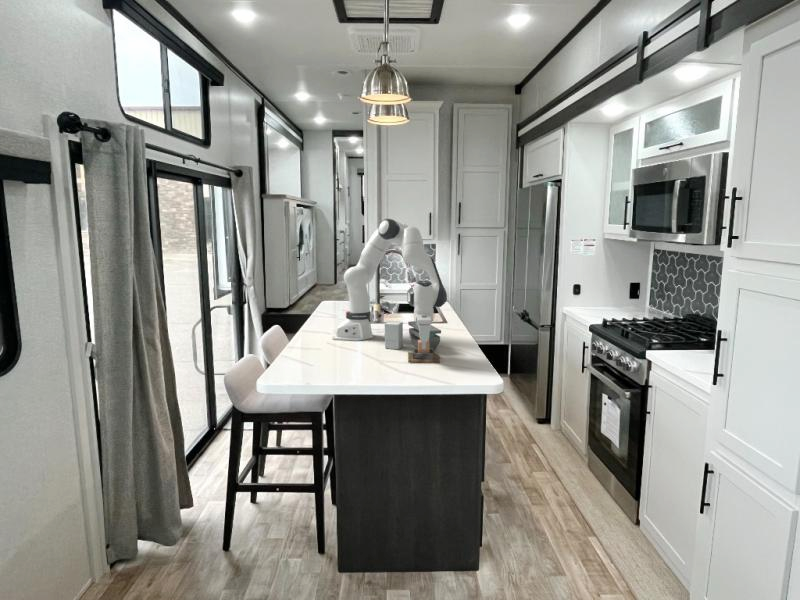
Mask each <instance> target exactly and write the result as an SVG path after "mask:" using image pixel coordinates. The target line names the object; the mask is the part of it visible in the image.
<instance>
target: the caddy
mask: <svg viewBox="0 0 800 600" xmlns="http://www.w3.org/2000/svg"><path fill="white" fill-rule="evenodd" d="M411 350H412V351H408V352H407V356H408V357H407V358H408V359H407V360H408V363H409V362H410V363H409V364H422V363H423V364H440V363H441V359H440V356H439V352H437V351H435V349H434V348H429V353H418V348H416V347H412V349H411ZM408 363H407V364H408Z"/></svg>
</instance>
